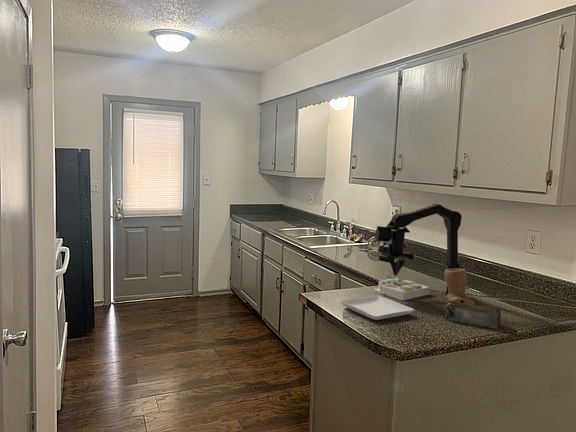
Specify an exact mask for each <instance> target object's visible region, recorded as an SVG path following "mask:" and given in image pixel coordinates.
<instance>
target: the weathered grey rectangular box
mask: <svg viewBox="0 0 576 432" xmlns="http://www.w3.org/2000/svg"><path fill="white" fill-rule="evenodd" d="M445 320H446V321H451V322H457V323H459V324H460V323H462V324H465V325H466V324H467V325H470V326H471V325H472V326H477V325H478V327H484V328H488V327H489V329H493V328H494V329H495V330H498V329H499V326H500V323H501V309H500V308H499V309H498V308H494V307H489V306H488V307H487V306H481V305H480V306H479V305H475V304H474V305H468V304H462V303H456V302H451V301H450V300H449V301H448V303H447V304H446V305H445Z"/></svg>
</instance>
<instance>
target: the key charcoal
mask: <svg viewBox="0 0 576 432" xmlns="http://www.w3.org/2000/svg"><path fill="white" fill-rule="evenodd" d="M393 285H396V286H403V285H407V283H404V282H401V281H399V280H398V282H393Z"/></svg>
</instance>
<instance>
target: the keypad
mask: <svg viewBox="0 0 576 432" xmlns="http://www.w3.org/2000/svg"><path fill="white" fill-rule="evenodd" d="M399 280H400V279H399V277H395V278H389V279H384V280H378V285H377V287H378V288H374V289H373V292H374V291H377V292H376V293H378V292H379V294H381V293H382V294H381V295H384V294H386V295H385V296H387V295H388V297H391V298H393V299H397V300H401V301H406V300H410V299H415V298H420V297H423V296H428V295H430V291H431V287H430V286H427V285H423V284H419V283H417V282H415V283H414V284H418V285H421V286H422V287H421V288H419V289H414V290H409V291H407V290H404V289H400V286H396V285H393V282H398V281H399ZM388 286H393V287H396V288H390V287H388Z"/></svg>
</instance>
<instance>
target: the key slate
mask: <svg viewBox="0 0 576 432" xmlns="http://www.w3.org/2000/svg"><path fill="white" fill-rule="evenodd" d="M418 284H419V283H416V284H414V283H413V284H408V286H412V287H414V289H419V288H421V287H422V286H421V285H422V284H420V285H418Z"/></svg>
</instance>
